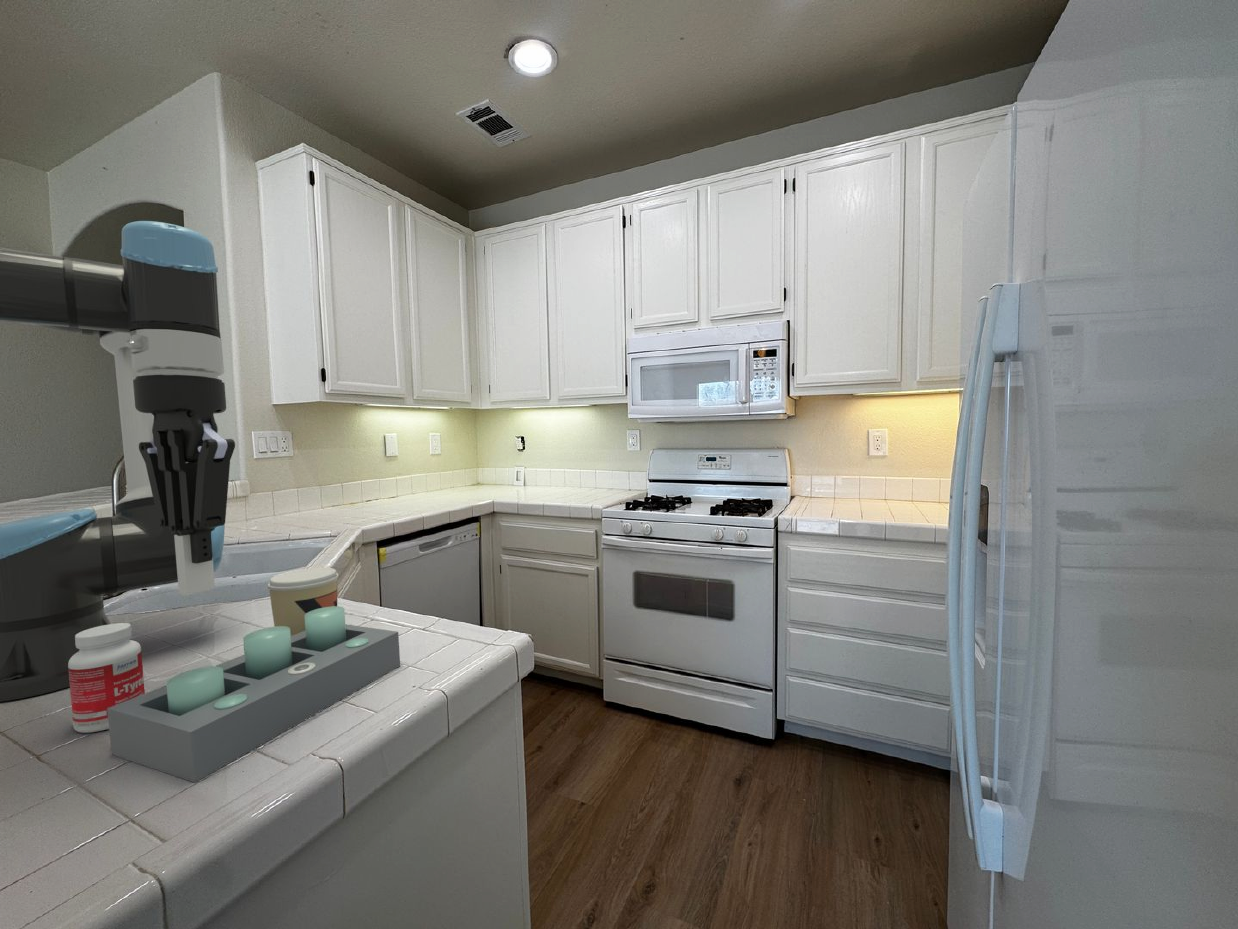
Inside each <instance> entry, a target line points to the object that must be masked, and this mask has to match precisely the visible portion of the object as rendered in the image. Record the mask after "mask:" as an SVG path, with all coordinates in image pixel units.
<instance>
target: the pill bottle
mask: <svg viewBox="0 0 1238 929" xmlns="http://www.w3.org/2000/svg"><path fill="white" fill-rule="evenodd" d="M131 637H132V625H131V624H130V623H129V622H128V623H126V622H117V623H111V624H109V625H103V626H98V627H94V628H91V629H87V630H84V631H82V632H80V633H78V634H76V635H75V645H76V648H78V649H80V650H79V652H77V653H76V654H74V655H73V656H72V657H71V658H70V660H69V662H68V671H69V683H70V686H69V690H70V702H71V703H70V704H71V712H72V713H71V714H72V715H71V716H72V724H73V728H74V730H75V731H76V732H78V733H86V734H88V733H95V732H101V731H105V730H109V722H108V711H107V708H110V707H112V706H115V705H117V704H120V703H122V702H125V701H127V700H130V699H133V698H135V697H138V696H140V695H143V694H145V693H146V692H145V691H146V690H145V680H144V678H145V677H144V669H143V668H144V666H143V654H142V653H143V652H142V646H141V644H140V643H139V642H138V641H135V640H131V639H130V638H131Z"/></svg>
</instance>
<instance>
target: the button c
mask: <svg viewBox="0 0 1238 929" xmlns="http://www.w3.org/2000/svg"><path fill="white" fill-rule="evenodd" d="M345 624H346V613H345V607H343V606H338V605H337V606H331V607H324V608H319V609H315V610H312V611H310V612H308V613H306V614H305V629H306V644H307V650H313V651H319V652H323V651H325V650H328V649H330V648H332V647H334V646H336V645H339V644H341V643H343V642H345V641H346V627H345Z"/></svg>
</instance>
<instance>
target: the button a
mask: <svg viewBox="0 0 1238 929" xmlns="http://www.w3.org/2000/svg"><path fill="white" fill-rule="evenodd" d="M166 685H167V697H168V709H169V713H170V714H174V715H177V716H181V715H183V714H185V713H188V712H190V711H192V710H194V709H197V708H199V707H201V706H203V705H205V704H208V703H210V702H212V701H214V700H217V699H219V698H221V697H223V696H225V689H224V676H223V668H221V667H217V666H216V665H214V666H211V665H210V666H203V667H198V668H194V669H191V670H187V671H184V672H181V673H179V674H177V675H175V676H173V677H171V678H170V679H168V680H167V681H166ZM166 685H165V686H166Z"/></svg>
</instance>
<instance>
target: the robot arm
mask: <svg viewBox="0 0 1238 929" xmlns="http://www.w3.org/2000/svg"><path fill="white" fill-rule="evenodd" d="M120 256H121V257H122V265H121V264H115V263H109V262H102V261H94V260H89V259H82V258H75V257H71V256H70V257H68V256H65V255H64V256H60V255H55V254H54V255H53V254H47V253H43V252H42V253H41V252H35V251H30V250H25V249H17V248H12V247H5V246H0V322H2V323H4V322H5V323H13V324H14V323H15V324H22V325H29V326H32V327H33V326H34V327H38V328H43V329H48V330H51V331H57V332H65V333H72V334H82V335H88V336H89V335H90V336H91V335H92V336H99V344H100V346H101V347H102V349H104V350H105V351H107V352H108V353H109V354H111V355H113V357H114V366H115V368H114V369H115V375H116V376H115V377H116V378H115V379H116V387H117V396H118V407H119V417H120V428H121V430H120V431H121V436H122V437H121V438H122V439H121V441H122V449H123V458H124V460H123V461H124V469H125V480H126V490H127V492H126V494H125V496H124V497H122V498H121V499H120V500H118V502H116V503H115V505H114V507H115V515H114V516H108V517H107V516H106V517H98V513H96V511H95V510H94V509H92V508H86V509H85V508H84V509H78V510H76V509H75V510H68V511H67V510H66V511H62V512H56V513H50V514H45V515H39V516H34V517H33V516H32V517H27V518H23V519H17V520H12V521H8V522H4V523H1V524H0V703H1V702H8V701H14V700H20V699H26V698H30V697H35V696H39V695H44V694H46V693H47V694H48V693H50V692H56V691H58V690H63V689H65V688H70V683H69V671H68V662H69V660H70V658H71V657H72V656H73V655H74V654H76V653H77V652H79V650H80V649H78V648H76V645H75V635H76V634H78V633H80V632H82V631H84V630H87V629H91V628H94V627H98V626H103V625H109V624H112V623H111V622H110V619H109V618H108V616H107V615H106V612H105V607H104V606H105V605H104V596H106V595H111V594H115V593H122V592H128V591H134V590H140V589H147V588H150V587H151V588H152V587H157V586H162V585H163V586H164V585H169V584H175V583H177V584H178V594H179V595H181V596H182V595H183V596H189V595H194V594H199V593H202V592H205V591H209V590H213V589H215V588H216V585H215V584H216V582H215V572H216V571H218V569H219V567H220V565H221V562H222V558H223V551H224V544H225V524H226V517H227V516H226V515H227V506H228V490H229V483H230V482H229V480H230V466H231V459H232V456H233V454H234V450H235V447H236V443H235V440H234V439H233V438H222V436H220V435H219V433H218V432H219V428H218V425H217V422H216V419H215V414H222V413H224V412H226V410H227V398H226V386H225V385H226V384H225V382H223V381H222V379H220V378H219V376H222V375H223V374H224V373H225V367H224V356H223V347H222V346H223V345H222V344H223V343H222V337H221V332H220V331H221V330H220V329H221V328H220V312H219V298H218V297H219V295H218V280H217V279H218V277H217V273H218V272H219V270H218V267H217V265H216V257H215V251H214V246H213V243H212V242H211V241H210V240H209V239H208V238H207V237H206V236H205V235H203V234H201V233H200V232H197V231H196V230H192V229H190V228H188V227H184V226H181V225H177V224H173V223H167V222H161V221H154V220H153V221H152V220H139V221H138V220H137V221H133V222H128V223H127V224H125V225H124V226H123V227H122V229H121V249H120Z"/></svg>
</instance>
